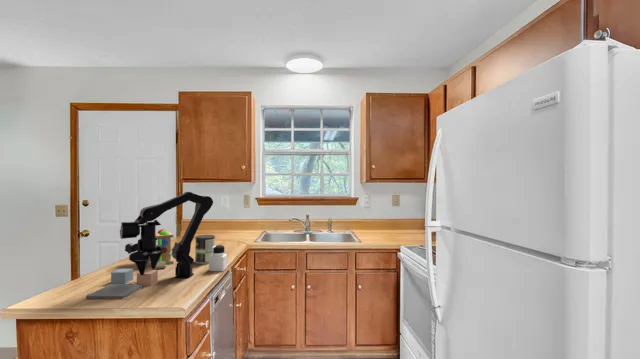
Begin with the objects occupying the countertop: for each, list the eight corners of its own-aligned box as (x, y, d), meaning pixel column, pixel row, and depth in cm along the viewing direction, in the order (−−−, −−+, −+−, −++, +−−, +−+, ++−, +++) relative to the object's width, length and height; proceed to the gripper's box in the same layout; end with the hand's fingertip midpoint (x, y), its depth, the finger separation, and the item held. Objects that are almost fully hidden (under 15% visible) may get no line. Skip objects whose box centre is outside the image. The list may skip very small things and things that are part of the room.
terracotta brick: (157, 281, 142) (157, 269, 142) (150, 285, 136) (151, 273, 136) (143, 281, 142) (144, 269, 142) (136, 285, 136) (136, 273, 136)
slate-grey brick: (133, 279, 144) (133, 268, 144) (125, 284, 138) (125, 272, 138) (119, 279, 143) (119, 268, 144) (111, 284, 137) (111, 272, 138)
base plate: (143, 286, 134) (143, 284, 134) (123, 298, 120) (123, 296, 120) (109, 286, 134) (109, 284, 134) (85, 298, 120) (85, 296, 120)
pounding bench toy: (177, 267, 165) (177, 232, 165) (146, 271, 157) (146, 235, 157) (168, 258, 184) (168, 227, 184) (140, 262, 175) (140, 229, 175)
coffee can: (194, 264, 170) (195, 238, 170) (195, 260, 180) (195, 235, 180) (215, 263, 174) (215, 237, 174) (214, 258, 184) (214, 234, 184)
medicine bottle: (227, 267, 165) (227, 244, 165) (223, 271, 158) (223, 247, 158) (213, 267, 165) (213, 244, 165) (208, 271, 157) (208, 247, 158)
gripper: (141, 232, 148) (140, 266, 148) (116, 240, 130) (115, 278, 129) (165, 232, 148) (164, 266, 148) (143, 240, 130) (143, 278, 130)
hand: (147, 272), depth 139 cm, fingers open, 9 cm apart
